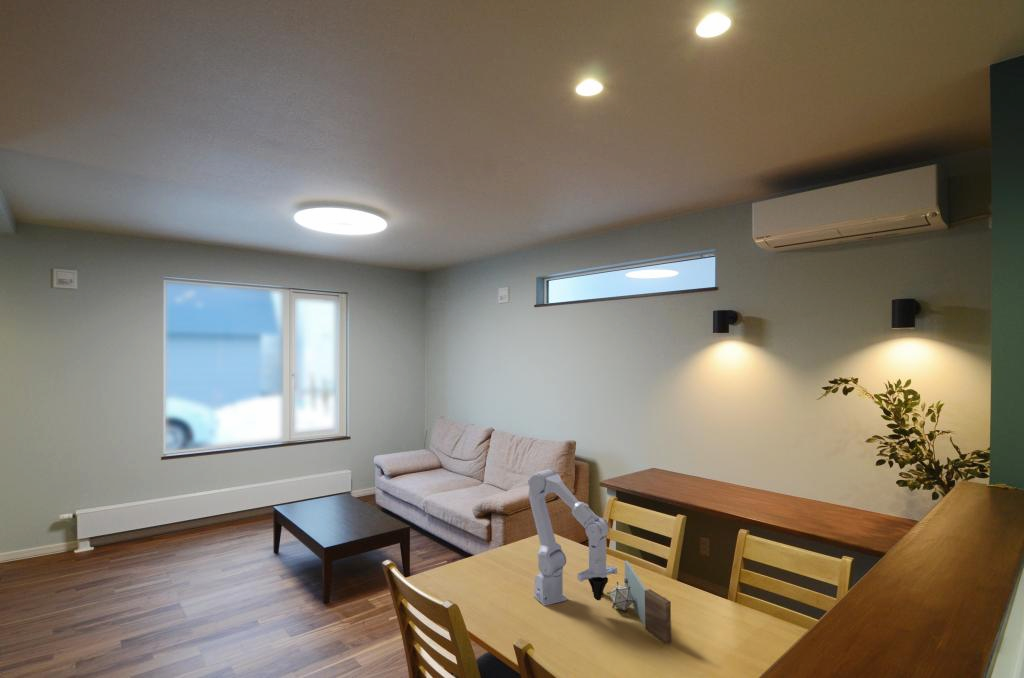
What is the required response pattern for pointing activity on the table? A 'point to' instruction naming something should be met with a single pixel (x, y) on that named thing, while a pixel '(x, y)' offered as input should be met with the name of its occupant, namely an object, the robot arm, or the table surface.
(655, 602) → the wall frame
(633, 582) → the door
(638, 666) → the table surface
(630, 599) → the game die
